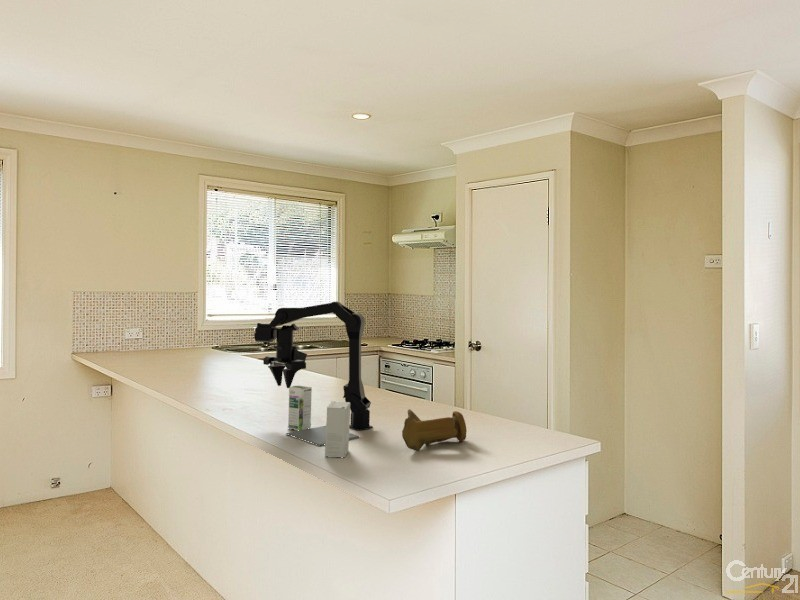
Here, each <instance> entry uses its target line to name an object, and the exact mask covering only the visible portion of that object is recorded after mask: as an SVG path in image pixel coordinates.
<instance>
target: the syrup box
mask: <svg viewBox="0 0 800 600" xmlns="http://www.w3.org/2000/svg"><path fill="white" fill-rule="evenodd" d="M312 393H313V392H312V386H305V385H293V386H292V385H291V386H290V387H289V388H288V421H287V422H288V425H287V429H288V428H289V429H290V430H291V429H294V430H293V431H296V430H299V431H300V430H305V429H308V428H309V429H311V427H312V426H311V425H312ZM289 429H288V430H289Z"/></svg>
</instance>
